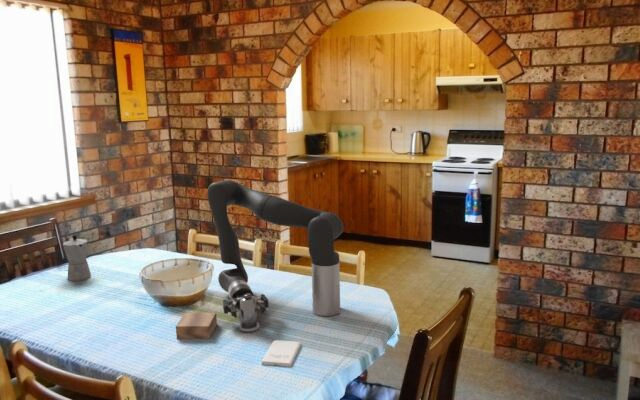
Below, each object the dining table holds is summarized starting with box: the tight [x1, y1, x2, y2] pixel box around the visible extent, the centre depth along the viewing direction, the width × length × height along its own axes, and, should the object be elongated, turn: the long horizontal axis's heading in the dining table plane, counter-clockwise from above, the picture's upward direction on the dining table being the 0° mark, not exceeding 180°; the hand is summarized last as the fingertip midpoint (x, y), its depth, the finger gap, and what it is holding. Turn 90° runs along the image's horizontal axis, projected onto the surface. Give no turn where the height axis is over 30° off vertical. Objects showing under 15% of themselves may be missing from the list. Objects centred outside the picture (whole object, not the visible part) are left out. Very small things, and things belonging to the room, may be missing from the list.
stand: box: [175, 312, 218, 340], centre depth 164 cm, size 10×10×4 cm
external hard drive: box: [261, 339, 302, 367], centre depth 149 cm, size 2×8×12 cm
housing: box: [238, 293, 260, 334], centre depth 165 cm, size 6×6×11 cm
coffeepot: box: [62, 234, 92, 282], centre depth 215 cm, size 15×9×18 cm, turn 44°
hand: (249, 312), depth 163 cm, fingers open, 8 cm apart
